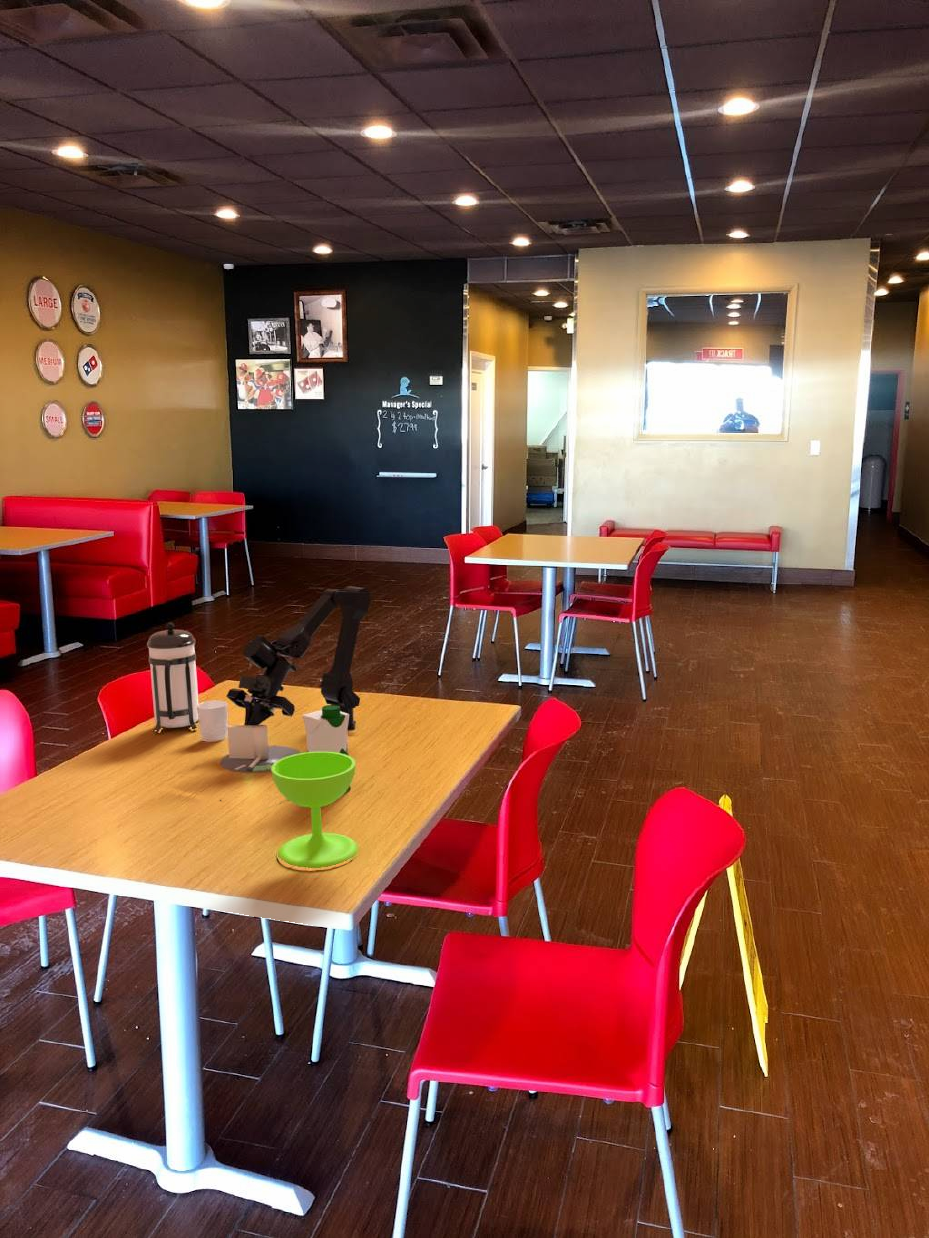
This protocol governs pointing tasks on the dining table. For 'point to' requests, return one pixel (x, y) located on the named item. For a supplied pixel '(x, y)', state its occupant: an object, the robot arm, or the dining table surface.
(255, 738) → the peg key
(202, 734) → the white cup
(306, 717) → the milk carton
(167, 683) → the coffee press
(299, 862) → the wineglass
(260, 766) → the tuner plate
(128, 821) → the dining table surface
